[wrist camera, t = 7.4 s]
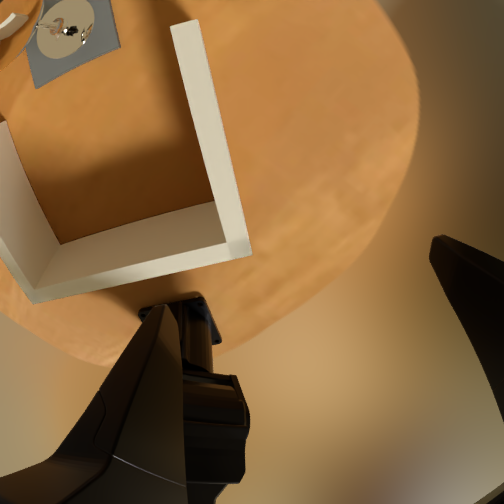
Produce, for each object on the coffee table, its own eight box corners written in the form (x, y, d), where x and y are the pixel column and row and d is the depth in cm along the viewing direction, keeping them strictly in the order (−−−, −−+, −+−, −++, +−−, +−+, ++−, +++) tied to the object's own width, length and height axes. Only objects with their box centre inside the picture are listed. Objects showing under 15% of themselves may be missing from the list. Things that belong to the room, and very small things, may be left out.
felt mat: (121, 47, 13) (119, 46, 13) (38, 88, 13) (35, 89, 13) (104, -31, 9) (102, -33, 9) (23, 14, 9) (20, 14, 9)
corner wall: (242, 209, 21) (252, 255, 17) (57, 259, 21) (32, 304, 17) (201, 33, 14) (197, 19, 9) (-4, 127, 14) (-49, 151, 9)
